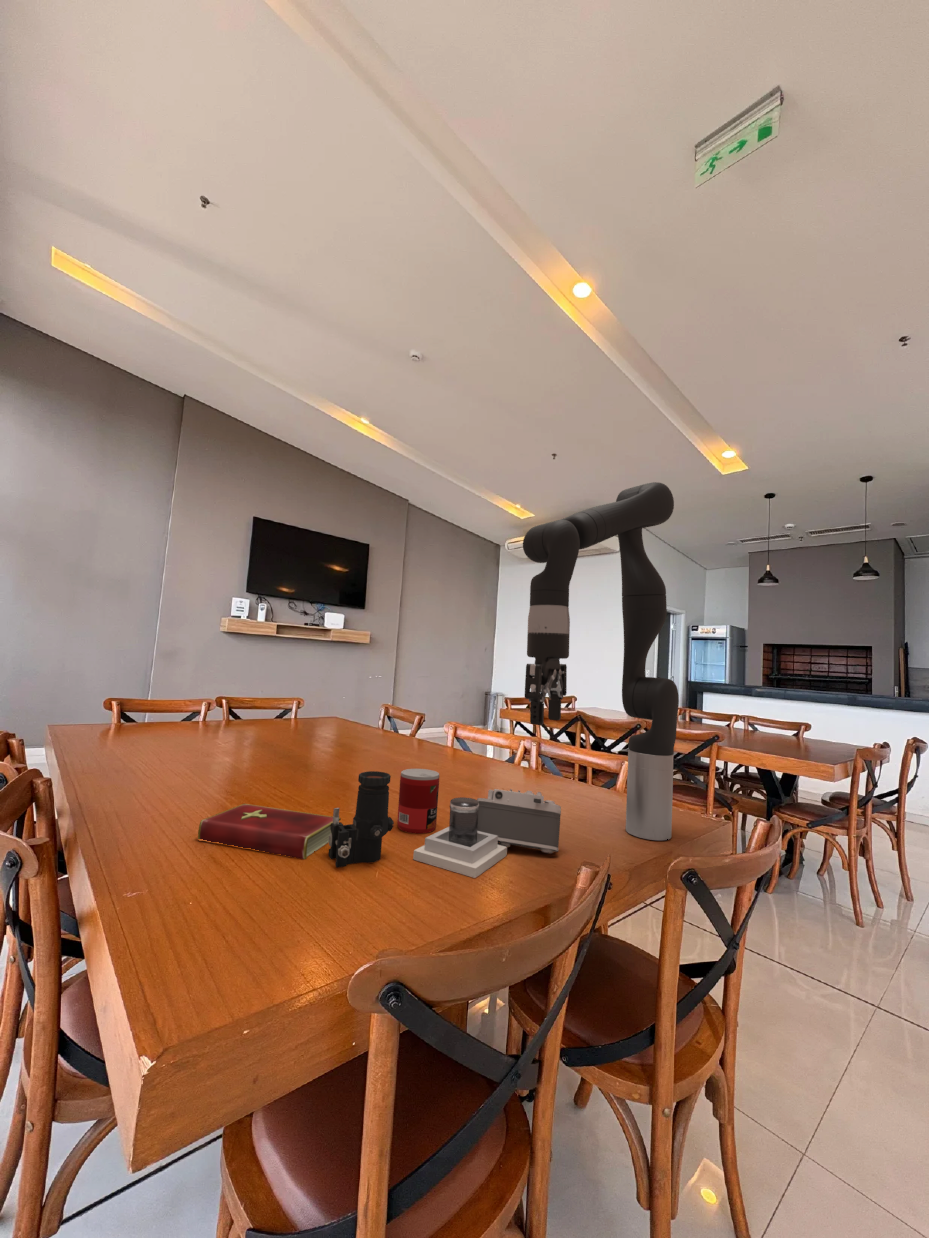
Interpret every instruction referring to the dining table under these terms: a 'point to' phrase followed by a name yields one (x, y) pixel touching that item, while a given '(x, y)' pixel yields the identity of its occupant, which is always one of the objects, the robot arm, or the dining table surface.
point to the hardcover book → (268, 830)
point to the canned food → (418, 800)
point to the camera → (520, 819)
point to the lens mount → (461, 853)
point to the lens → (463, 821)
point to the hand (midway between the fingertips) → (546, 722)
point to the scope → (363, 823)
